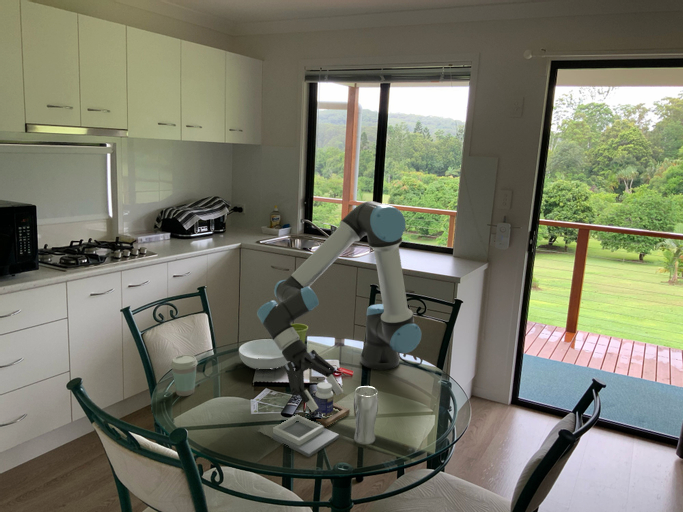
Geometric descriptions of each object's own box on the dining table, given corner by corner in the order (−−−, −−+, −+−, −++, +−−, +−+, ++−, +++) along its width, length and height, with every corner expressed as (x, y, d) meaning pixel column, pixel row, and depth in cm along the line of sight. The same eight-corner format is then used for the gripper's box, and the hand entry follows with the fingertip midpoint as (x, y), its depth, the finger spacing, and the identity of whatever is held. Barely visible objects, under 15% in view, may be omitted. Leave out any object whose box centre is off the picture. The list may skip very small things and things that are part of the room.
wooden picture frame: (321, 402, 178) (321, 398, 177) (349, 413, 171) (349, 409, 170) (297, 415, 169) (297, 411, 168) (326, 427, 162) (326, 423, 162)
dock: (288, 415, 169) (288, 407, 168) (338, 437, 157) (339, 429, 156) (258, 431, 159) (258, 424, 158) (309, 457, 147) (309, 448, 146)
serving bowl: (304, 362, 210) (305, 345, 208) (271, 381, 192) (271, 363, 191) (262, 350, 220) (262, 334, 219) (227, 368, 202) (226, 350, 201)
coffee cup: (190, 384, 188) (189, 352, 186) (203, 392, 182) (202, 359, 180) (167, 391, 182) (165, 358, 180) (179, 400, 176) (178, 366, 174)
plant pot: (280, 347, 224) (280, 327, 222) (295, 341, 231) (295, 321, 229) (297, 353, 218) (297, 332, 216) (312, 346, 226) (312, 326, 224)
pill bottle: (330, 420, 166) (331, 390, 164) (312, 417, 168) (313, 388, 166) (334, 411, 172) (335, 382, 170) (317, 409, 173) (317, 380, 171)
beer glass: (351, 432, 160) (353, 385, 156) (374, 432, 160) (376, 385, 157) (353, 445, 153) (355, 396, 150) (378, 445, 153) (380, 396, 150)
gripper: (307, 339, 185) (342, 392, 180) (258, 363, 164) (296, 423, 159) (320, 328, 181) (356, 381, 176) (271, 351, 160) (311, 412, 155)
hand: (328, 401), depth 168 cm, fingers open, 13 cm apart
